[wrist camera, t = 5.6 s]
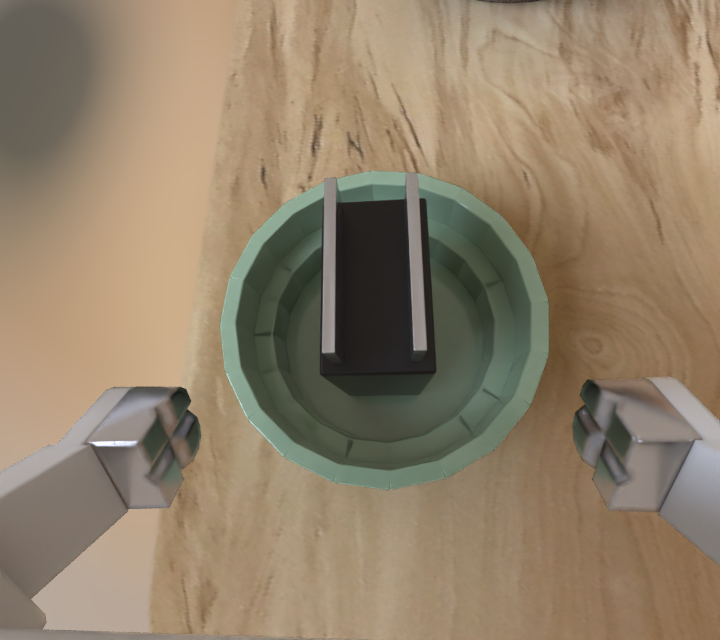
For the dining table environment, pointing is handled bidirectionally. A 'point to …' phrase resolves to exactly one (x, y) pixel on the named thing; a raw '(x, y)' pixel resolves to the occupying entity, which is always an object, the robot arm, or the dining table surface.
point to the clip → (376, 294)
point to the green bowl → (452, 342)
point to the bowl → (508, 0)
